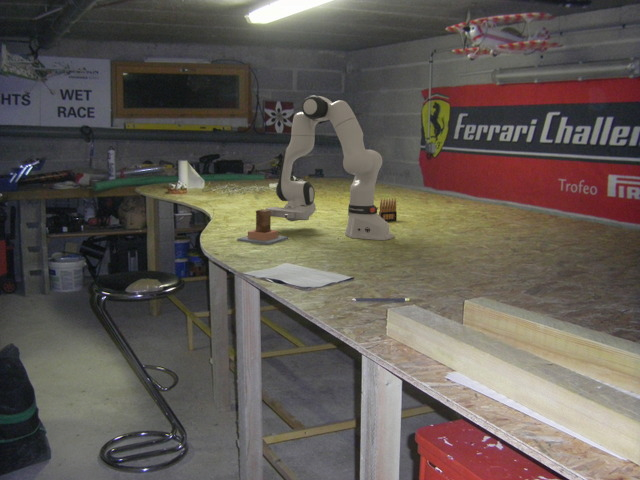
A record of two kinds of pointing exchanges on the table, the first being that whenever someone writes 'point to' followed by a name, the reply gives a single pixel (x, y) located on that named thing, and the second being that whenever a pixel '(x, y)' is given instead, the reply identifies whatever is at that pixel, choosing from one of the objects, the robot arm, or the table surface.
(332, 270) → the table surface
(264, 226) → the wooden post
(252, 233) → the housing
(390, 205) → the ammunition clip
